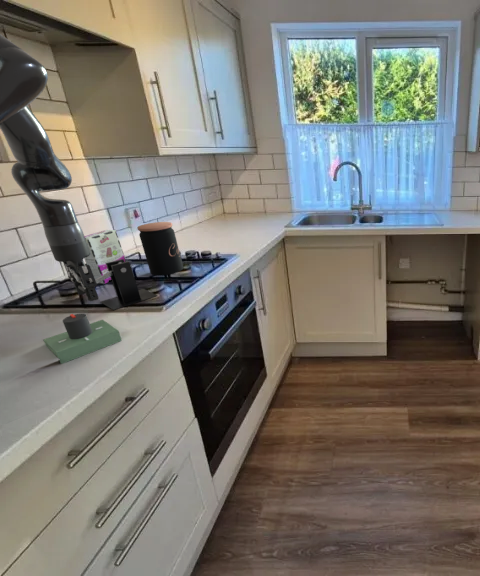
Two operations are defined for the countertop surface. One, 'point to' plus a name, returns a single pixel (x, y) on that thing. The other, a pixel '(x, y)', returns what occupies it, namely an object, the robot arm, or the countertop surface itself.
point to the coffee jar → (160, 248)
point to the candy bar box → (103, 252)
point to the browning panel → (83, 342)
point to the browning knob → (77, 326)
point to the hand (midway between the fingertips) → (88, 296)
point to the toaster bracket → (125, 286)
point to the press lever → (100, 278)
